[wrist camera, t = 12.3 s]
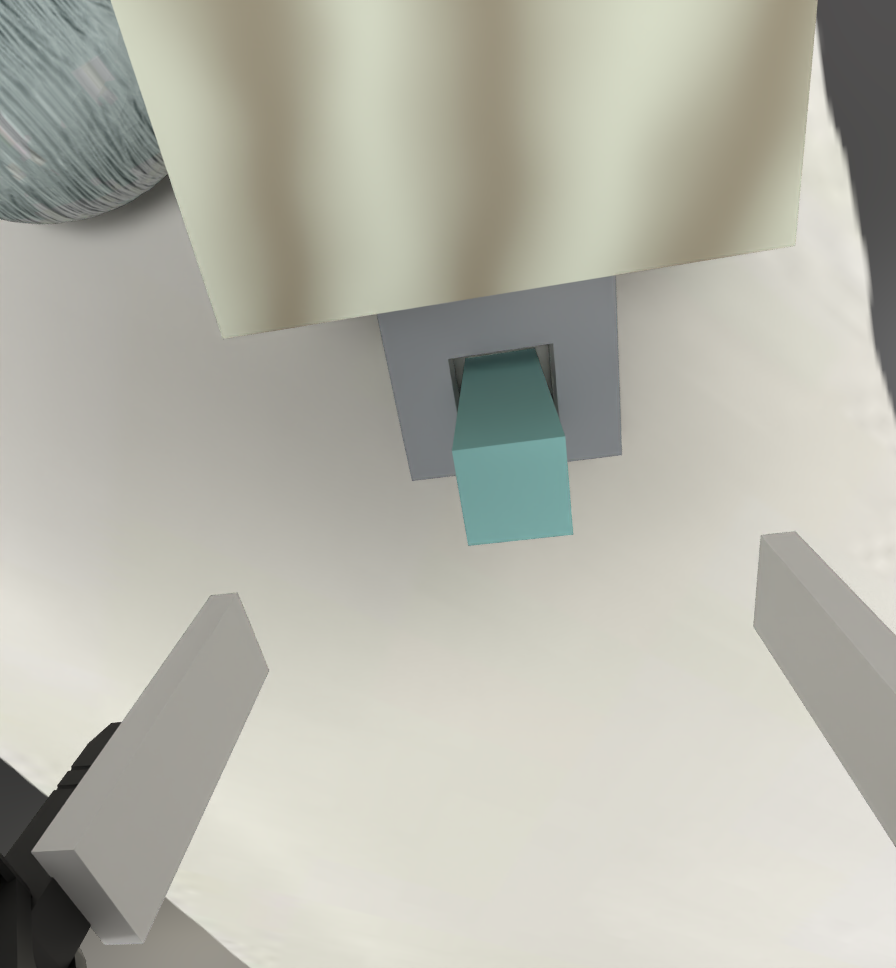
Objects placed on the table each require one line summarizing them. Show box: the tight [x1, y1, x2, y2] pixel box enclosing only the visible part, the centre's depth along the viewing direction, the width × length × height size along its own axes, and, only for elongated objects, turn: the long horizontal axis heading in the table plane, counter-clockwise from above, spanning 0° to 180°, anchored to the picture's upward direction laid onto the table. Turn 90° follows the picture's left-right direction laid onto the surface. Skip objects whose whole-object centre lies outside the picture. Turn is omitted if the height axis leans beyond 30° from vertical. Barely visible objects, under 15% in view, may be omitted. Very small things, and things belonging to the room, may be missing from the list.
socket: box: [377, 275, 622, 481], centre depth 31 cm, size 12×14×3 cm
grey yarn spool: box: [0, 0, 168, 224], centre depth 25 cm, size 14×10×10 cm
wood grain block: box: [111, 0, 817, 339], centre depth 22 cm, size 18×10×14 cm, turn 99°
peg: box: [452, 348, 573, 546], centre depth 27 cm, size 4×4×14 cm
